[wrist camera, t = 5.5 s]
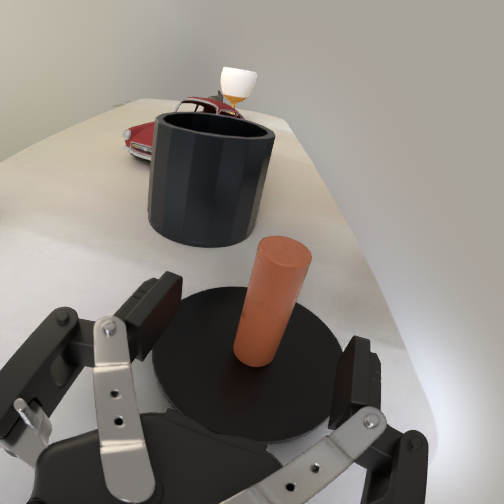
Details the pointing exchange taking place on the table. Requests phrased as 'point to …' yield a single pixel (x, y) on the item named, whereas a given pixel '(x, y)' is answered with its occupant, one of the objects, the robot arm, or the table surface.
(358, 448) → the robot arm
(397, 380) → the table surface
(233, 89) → the cup
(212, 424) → the lid
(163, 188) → the canister
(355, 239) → the table surface
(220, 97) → the dog figurine
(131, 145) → the toy car
